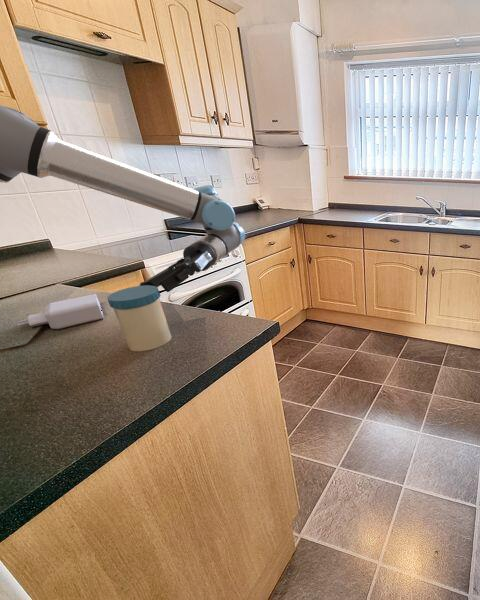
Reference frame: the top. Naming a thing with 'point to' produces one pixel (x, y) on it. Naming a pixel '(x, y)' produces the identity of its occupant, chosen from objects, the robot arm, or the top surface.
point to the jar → (144, 326)
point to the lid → (133, 297)
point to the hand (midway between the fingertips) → (144, 294)
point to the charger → (67, 313)
